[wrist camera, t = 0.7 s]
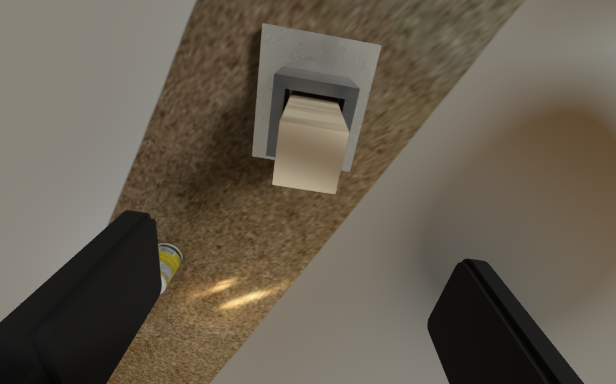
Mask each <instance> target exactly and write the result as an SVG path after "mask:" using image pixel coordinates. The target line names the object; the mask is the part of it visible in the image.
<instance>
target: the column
mask: <svg viewBox="0 0 616 384" xmlns="http://www.w3.org/2000/svg"><path fill="white" fill-rule="evenodd" d="M348 137H349V130H348V128H347V125H346V123H345V120H344V118H343V115H342V113H341V110H340V108H339V105H338V103H337V100H336V98H335V97H330V96H324V95H318V94H312V93H307V92H301V91H295V90H292V93H291V96H290V98H289V100H288V103H287V105H286V108H285V110H284V112H283V115H282V117H281V119H280V123H279V131H278V140H277V148H276V157H275V166H274V174H273V183H272V185H278V186H284V187H291V188H297V189H304V190H311V191H317V192H324V193H330V194H335V193H336V189H337V184H338V180H339V176H340V172H341V167H342V163H343V159H344V155H345V150H346V146H347V142H348Z"/></svg>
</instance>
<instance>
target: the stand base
mask: <svg viewBox="0 0 616 384" xmlns="http://www.w3.org/2000/svg"><path fill="white" fill-rule="evenodd" d="M380 49H381V45H377V44H372V43H366V42H361V41H355V40H350V39H345V38H339V37H334V36H328V35H323V34H318V33H312V32H307V31H302V30H296V29H291V28H285V27H280V26H275V25H269V24H264V23H262V35H261V48H260V61H259V74H258V86H257V99H256V112H255V125H254V138H253V151H252V156H253V157H260V158H266V159H272V160H275V157H276V148H277V140H278V131H279V123H280V119H281V117H282V115H283V112H284V110H285V108H286V105H287V103H288V100H289V98H290V96H291V93H292V90H295V91H301V92H307V93H312V94H318V95H324V96H330V97H335V98H336V100H337V103H338V105H339V108H340V110H341V113H342V115H343V118H344V120H345V123H346V125H347V128H348V130H349V137H348V142H347V146H346V150H345V155H344V159H343V163H342V167H341V170H342V171H349V172H350V169H351V165H352V161H353V157H354V153H355V149H356V145H357V141H358V137H359V133H360V129H361V125H362V121H363V117H364V113H365V109H366V105H367V101H368V97H369V93H370V89H371V85H372V81H373V77H374V73H375V69H376V65H377V61H378V57H379V53H380Z"/></svg>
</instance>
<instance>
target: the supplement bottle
mask: <svg viewBox="0 0 616 384" xmlns="http://www.w3.org/2000/svg"><path fill="white" fill-rule="evenodd" d="M158 249H159V260H160V270H161V281H162V289H161V293H160V294H162V293H163V292H164V291H165V289H166V288H167V286H168V284H169V282H170V281H171V279H172V277H173V276H174V274H175V272H176V271H177V269H178V267H179V265H180V264H181V262H182V253H181V252H180V250H179V249H178V248H177V247H175V246H174V245H172V244H168V243H160V244H158Z"/></svg>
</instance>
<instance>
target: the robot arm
mask: <svg viewBox="0 0 616 384" xmlns="http://www.w3.org/2000/svg"><path fill="white" fill-rule="evenodd" d="M161 289H162V281H161V270H160V260H159V249H158V239H157V229H156V221H155V220H154V219H151V218H150V215H149V214H148V213H143V212H136V211H129V210H128V211H125V212H123V213H122V214H121V215H120V216H119V217H118V218H116V219H115V220H114V221H113V222H112V223H111V224H110V225H109V226H107V227H106V228H105V229H104V230H103V231H102V232H101V233H100V234H99V235H97V236H96V237H95V238H94V239H93V240H92V241H91V242H90V243H88V244H87V245H86V246H85V247H84V248H83V249H82V250H81V251H79V252H78V253H77V254H76V255H75V256H74V257H73V258H72V259H71V260H69V261H68V262H67V263H66V264H65V265H64V266H63V267H62V268H60V269H59V270H58V271H57V272H56V273H55V274H54V275H53V276H52V277H51V278H49V279H48V280H47V281H46V282H45V283H44V284H43V285H42V286H40V287H39V288H38V289H37V290H36V291H35V292H34V293H33V294H31V295H30V296H29V297H28V298H27V299H26V300H25V301H24V302H22V303H21V304H20V305H19V306H18V307H17V308H16V309H15V310H14V311H12V312H11V313H10V314H9V315H8V316H7V317H6V318H5V319H3V320H2V321H1V322H0V384H106V383H107V382H108V380H109V378H110V377H111V375H112V373H113V372H114V370H115V368H116V367H117V365H118V364H119V362H120V360H121V359H122V357H123V355H124V354H125V352H126V350H127V349H128V347H129V345H130V344H131V342H132V340H133V339H134V337H135V336H136V334H137V332H138V331H139V329H140V327H141V326H142V324H143V322H144V321H145V319H146V317H147V316H148V314H149V312H150V311H151V309H152V307H153V306H154V304H155V303H156V301H157V299H158V297H159V296H160V293H161ZM428 331H429V334H430V336H431V339H432V341H433V344H434V346H435V349H436V351H437V354H438V356H439V359H440V361H441V364H442V366H443V369H444V371H445V374H446V376H447V379H448V381H449V384H584V383H583V382H582V380H581V379H580V378H579V377H578V375H577V374H576V373H575V372H574V370H573V369H572V368H571V367H570V366H569V364H568V363H567V362H566V360H565V359H564V358H563V357H562V355H561V354H560V353H559V351H558V350H557V349H556V348H555V347H554V345H553V344H552V343H551V341H550V340H549V339H548V338H547V336H546V335H545V334H544V333H543V331H542V330H541V329H540V328H539V326H538V325H537V324H536V323H535V321H534V320H533V319H532V318H531V316H530V315H529V314H528V312H527V311H526V310H525V309H524V307H523V306H522V305H521V304H520V302H519V301H518V300H517V299H516V297H514V295H513V294H512V292H511V291H510V290H509V289H508V287H507V286H506V285H505V284H504V282H503V281H502V280H501V279H500V277H499V276H498V275H497V273H496V272H495V271H494V270H493V268H492V267H491V266H490V265H489V264H488V263H487V262H485V261H480V260H474V259H464V260H463V261H462V262H460V263H458V264H457V265H456V267H455V269H454V271H453V273H452V275H451V276H450V278H449V280H448V282H447V284H446V286H445V288H444V290H443V292H442V294H441V296H440V298H439V300H438V302H437V303H436V305H435V307H434V309H433V311H432V313H431V315H430V317H429V319H428Z"/></svg>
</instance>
